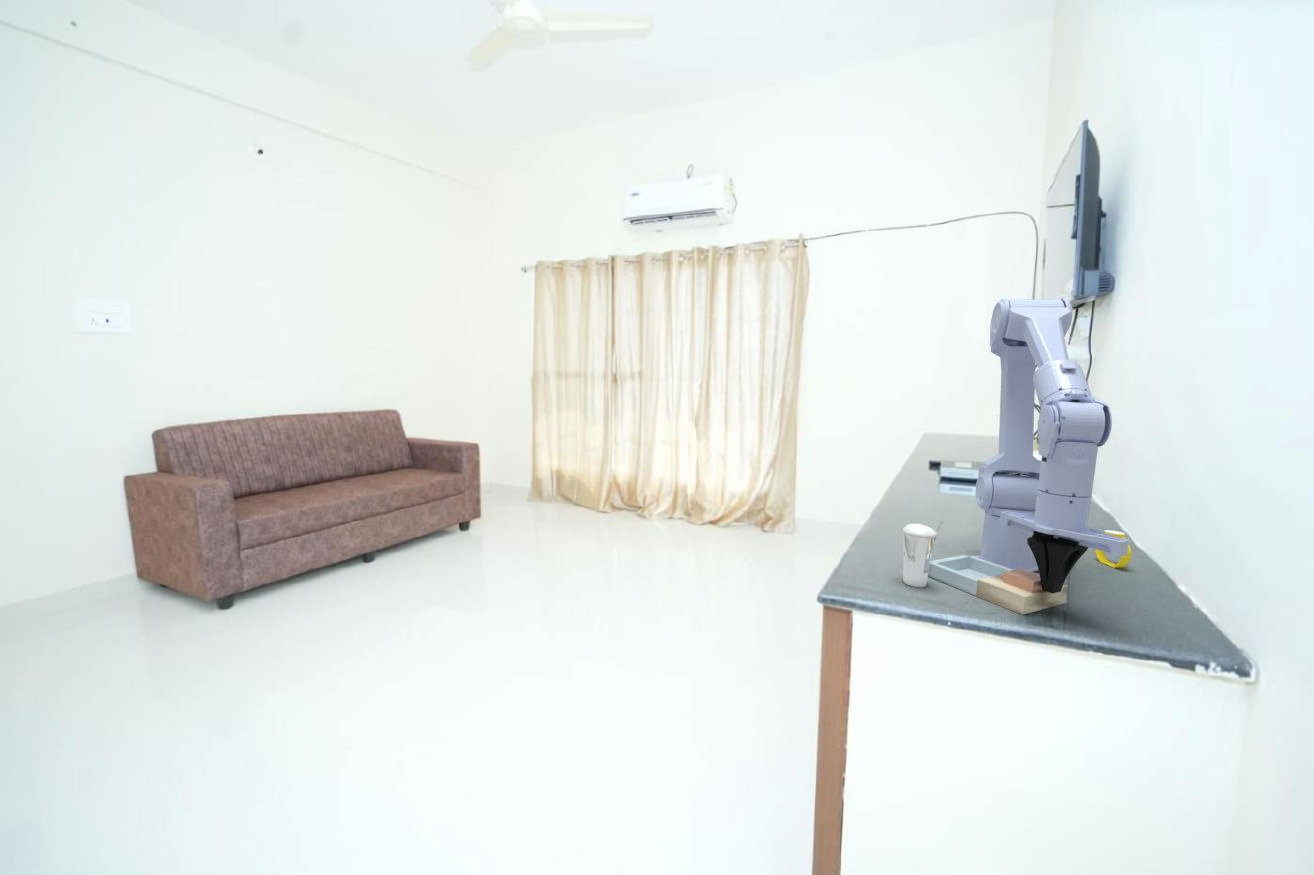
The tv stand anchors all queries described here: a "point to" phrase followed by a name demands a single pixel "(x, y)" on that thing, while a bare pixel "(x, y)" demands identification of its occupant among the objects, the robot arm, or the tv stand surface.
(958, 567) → the box
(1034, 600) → the beige wooden block
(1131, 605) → the tv stand surface
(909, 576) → the milkshake
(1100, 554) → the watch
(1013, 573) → the tile
